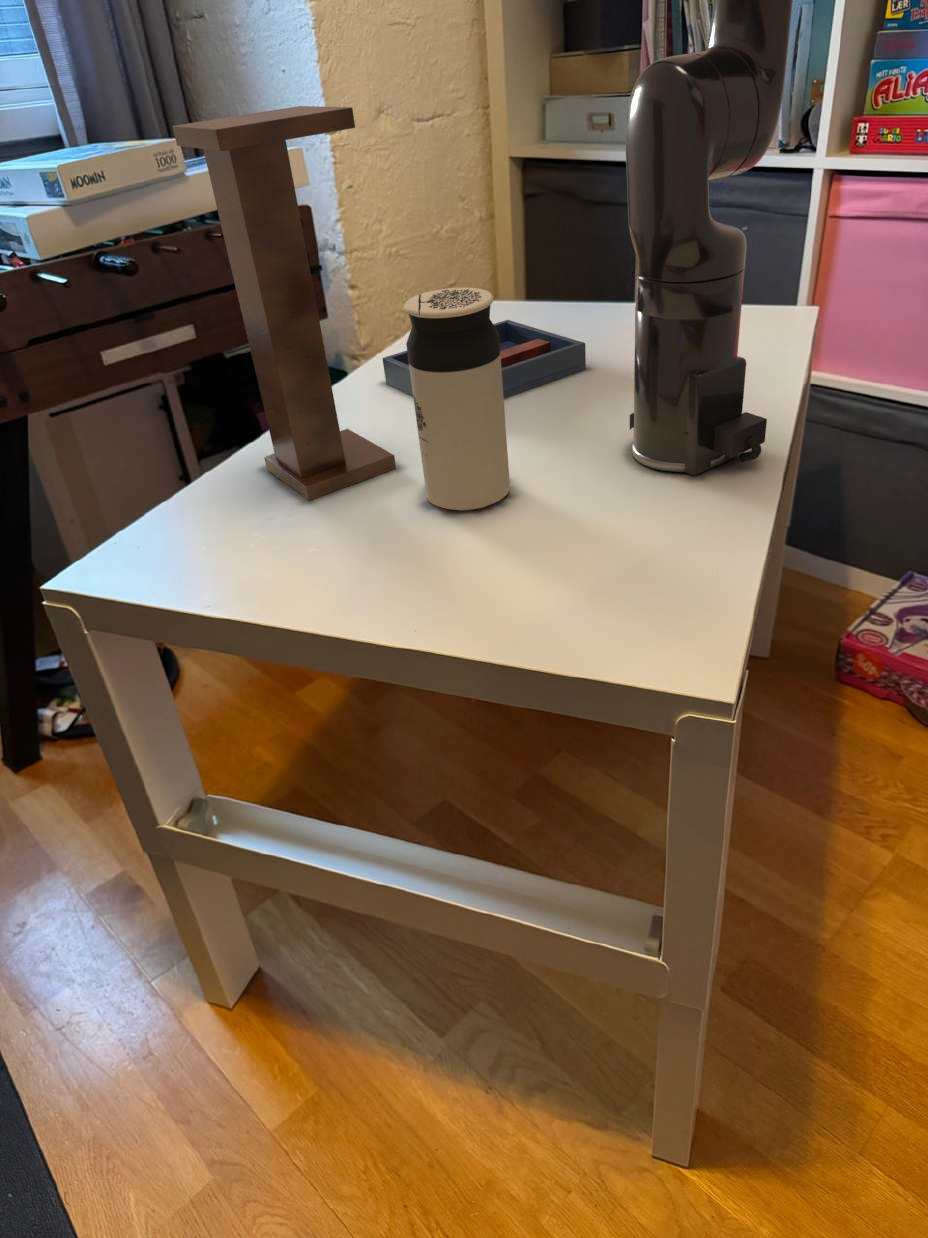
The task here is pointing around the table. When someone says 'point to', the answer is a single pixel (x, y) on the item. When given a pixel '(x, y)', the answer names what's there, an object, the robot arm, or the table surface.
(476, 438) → the travel mug
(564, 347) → the tray
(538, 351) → the brush
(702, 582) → the table surface
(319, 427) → the wooden pedestal stand
